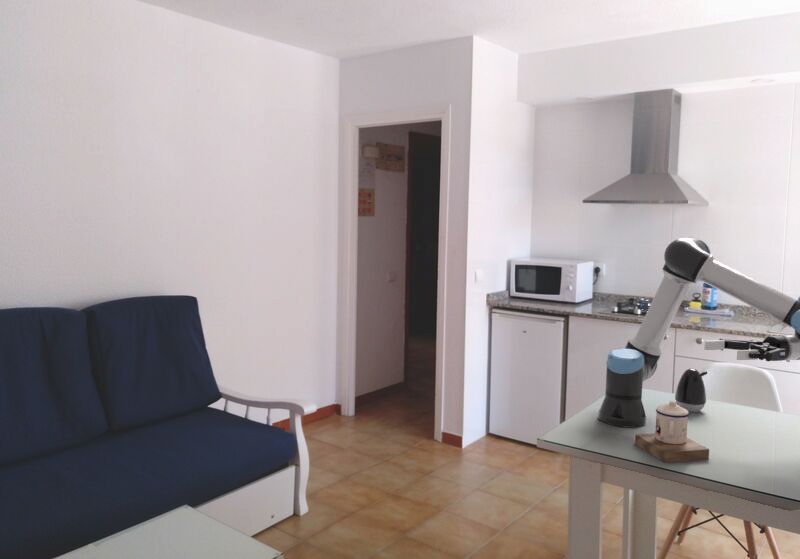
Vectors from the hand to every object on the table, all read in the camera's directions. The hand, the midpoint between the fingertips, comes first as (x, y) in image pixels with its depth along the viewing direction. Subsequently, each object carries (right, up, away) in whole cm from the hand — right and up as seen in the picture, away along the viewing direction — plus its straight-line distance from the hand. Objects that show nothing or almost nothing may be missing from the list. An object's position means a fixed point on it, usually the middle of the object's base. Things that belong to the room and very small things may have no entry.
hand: (720, 350), depth 195 cm
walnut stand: (-15, -30, 0) cm, 33 cm away
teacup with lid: (-15, -27, 0) cm, 31 cm away
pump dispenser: (+9, -26, +41) cm, 50 cm away
